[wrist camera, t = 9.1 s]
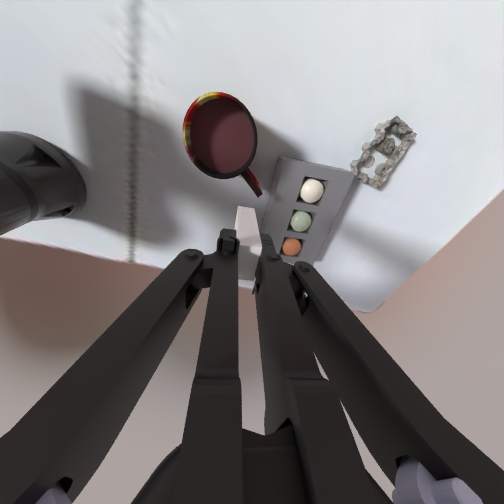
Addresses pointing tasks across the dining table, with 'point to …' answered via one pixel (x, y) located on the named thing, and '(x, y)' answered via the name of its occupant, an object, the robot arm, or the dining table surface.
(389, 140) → the egg carton
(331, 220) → the console
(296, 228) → the sage button
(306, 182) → the cream button
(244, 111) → the mug
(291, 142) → the dining table surface
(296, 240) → the rust button
